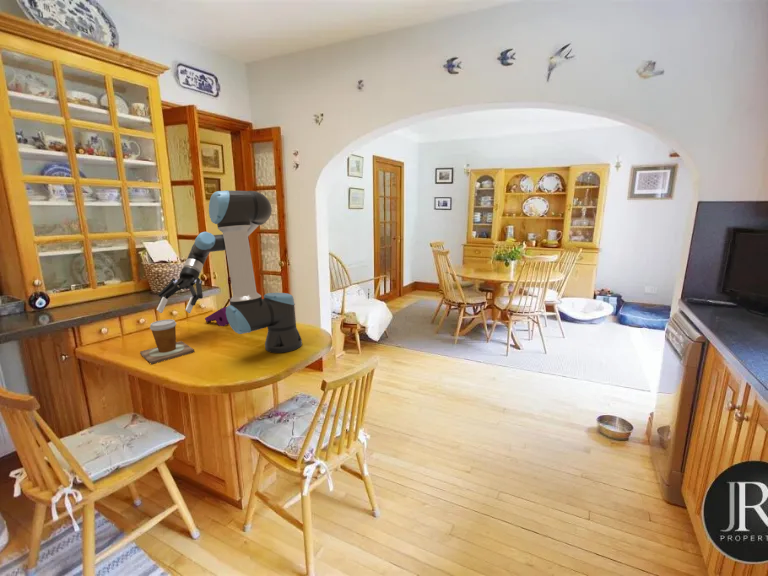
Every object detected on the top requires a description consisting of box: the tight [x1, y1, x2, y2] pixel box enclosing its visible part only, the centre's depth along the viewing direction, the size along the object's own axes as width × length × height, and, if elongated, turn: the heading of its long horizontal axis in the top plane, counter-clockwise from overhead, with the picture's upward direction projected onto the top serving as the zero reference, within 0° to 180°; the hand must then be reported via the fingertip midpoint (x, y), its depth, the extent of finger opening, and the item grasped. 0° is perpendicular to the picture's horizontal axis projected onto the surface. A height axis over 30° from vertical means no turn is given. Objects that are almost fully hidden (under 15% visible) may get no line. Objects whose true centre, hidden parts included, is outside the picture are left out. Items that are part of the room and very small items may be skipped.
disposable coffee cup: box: [149, 318, 177, 353], centre depth 153 cm, size 10×10×12 cm
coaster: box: [139, 340, 195, 365], centre depth 154 cm, size 16×16×1 cm
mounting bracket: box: [204, 306, 230, 327], centre depth 195 cm, size 9×8×18 cm
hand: (173, 311), depth 157 cm, fingers open, 13 cm apart
